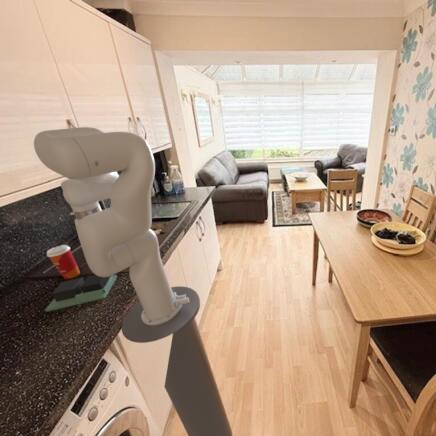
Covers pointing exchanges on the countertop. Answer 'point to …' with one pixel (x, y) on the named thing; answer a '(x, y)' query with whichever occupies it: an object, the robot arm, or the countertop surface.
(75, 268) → the paper cup
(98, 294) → the base board
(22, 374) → the countertop surface
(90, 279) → the black pad
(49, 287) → the countertop surface
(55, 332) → the countertop surface
